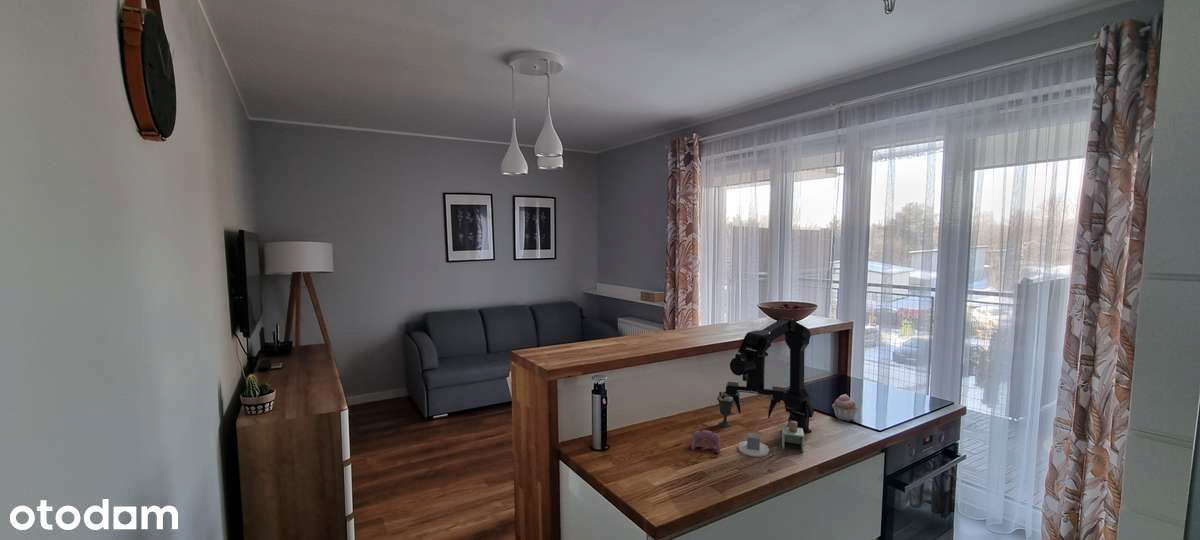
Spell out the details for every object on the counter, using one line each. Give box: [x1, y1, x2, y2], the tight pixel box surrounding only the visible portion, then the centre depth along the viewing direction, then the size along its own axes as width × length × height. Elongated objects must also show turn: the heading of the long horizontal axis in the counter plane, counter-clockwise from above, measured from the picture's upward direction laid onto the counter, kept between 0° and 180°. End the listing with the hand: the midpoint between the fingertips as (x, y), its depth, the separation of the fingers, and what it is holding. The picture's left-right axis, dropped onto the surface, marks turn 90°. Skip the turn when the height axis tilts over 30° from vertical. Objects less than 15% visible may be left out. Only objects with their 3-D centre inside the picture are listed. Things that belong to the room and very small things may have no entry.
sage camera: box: [781, 421, 805, 452], centre depth 163 cm, size 7×7×8 cm
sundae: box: [716, 391, 735, 428], centre depth 181 cm, size 7×7×15 cm
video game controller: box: [690, 429, 722, 454], centre depth 161 cm, size 10×5×7 cm, turn 72°
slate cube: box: [746, 432, 761, 451], centre depth 160 cm, size 4×4×4 cm
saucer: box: [737, 440, 770, 458], centre depth 160 cm, size 10×10×1 cm
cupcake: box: [831, 393, 859, 422], centre depth 188 cm, size 9×9×10 cm
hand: (754, 415), depth 159 cm, fingers open, 9 cm apart
